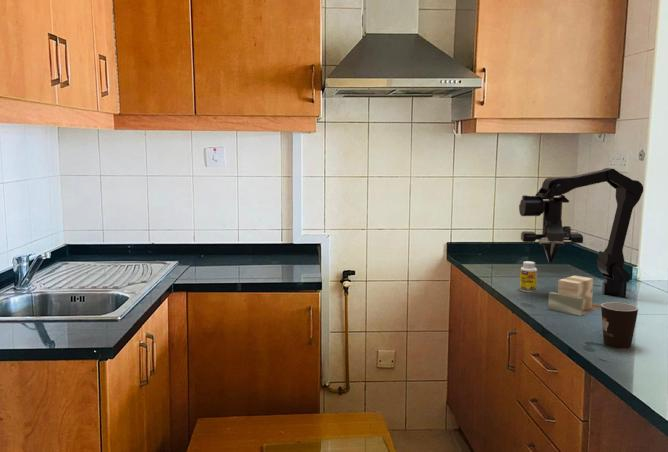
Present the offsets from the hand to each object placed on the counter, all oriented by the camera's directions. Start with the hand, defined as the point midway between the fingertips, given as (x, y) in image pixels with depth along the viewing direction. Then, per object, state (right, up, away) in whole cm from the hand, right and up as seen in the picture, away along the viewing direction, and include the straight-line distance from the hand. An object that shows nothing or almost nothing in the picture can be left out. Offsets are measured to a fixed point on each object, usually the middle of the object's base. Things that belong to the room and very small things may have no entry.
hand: (550, 263), depth 201 cm
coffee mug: (+2, -18, -44) cm, 47 cm away
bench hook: (+3, -14, -15) cm, 21 cm away
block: (+2, -13, -16) cm, 21 cm away
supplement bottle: (-4, -11, +12) cm, 17 cm away
